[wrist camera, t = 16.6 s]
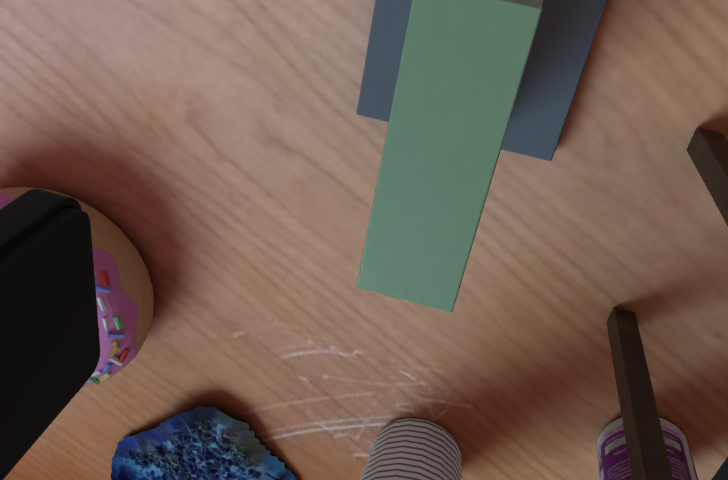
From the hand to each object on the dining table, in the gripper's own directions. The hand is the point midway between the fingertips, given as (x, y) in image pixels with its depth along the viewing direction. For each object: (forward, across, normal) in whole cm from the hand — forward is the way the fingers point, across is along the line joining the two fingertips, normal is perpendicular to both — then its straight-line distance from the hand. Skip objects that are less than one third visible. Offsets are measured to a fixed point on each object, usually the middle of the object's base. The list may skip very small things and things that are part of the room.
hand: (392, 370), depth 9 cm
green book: (+24, 0, +2) cm, 24 cm away
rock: (+25, +10, +39) cm, 48 cm away
